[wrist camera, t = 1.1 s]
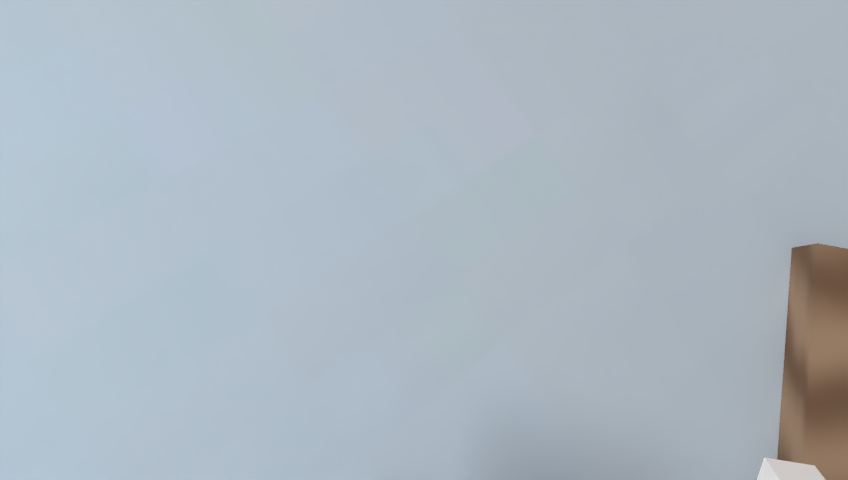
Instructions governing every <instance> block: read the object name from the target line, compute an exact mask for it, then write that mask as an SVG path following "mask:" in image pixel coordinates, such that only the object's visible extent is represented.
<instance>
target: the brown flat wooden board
mask: <svg viewBox="0 0 848 480" xmlns="http://www.w3.org/2000/svg"><path fill="white" fill-rule="evenodd" d="M778 460H783V461H789V462H796V463H802V464H808V465H815V467H816V468H817V469H818V471H819V472H820V473H821V474H822V476H823V477H824V478H825V479H826V480H848V249H845V248H839V247H834V246H828V245H823V244H812V245H807V246H801V247H795V248H792V258H791V272H790V287H789V301H788V315H787V330H786V344H785V359H784V373H783V388H782V402H781V416H780V431H779V445H778Z"/></svg>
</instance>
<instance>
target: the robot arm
mask: <svg viewBox="0 0 848 480" xmlns="http://www.w3.org/2000/svg"><path fill="white" fill-rule="evenodd" d="M757 480H826V479H825V478H824V477H823V476H822V474H821V473H820V472H819V471H818V469H817V468H816V467H815V465H808V464H802V463H796V462H789V461H783V460H777V459H771V458H764V460H763V463H762V466H761V469H760V472H759V475H758V478H757Z"/></svg>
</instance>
